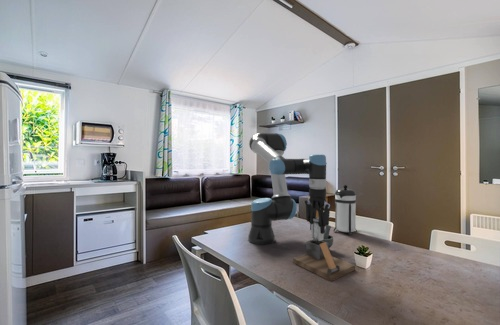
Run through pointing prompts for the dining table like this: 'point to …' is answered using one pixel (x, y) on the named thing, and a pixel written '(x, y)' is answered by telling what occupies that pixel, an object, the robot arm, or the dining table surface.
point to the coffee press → (345, 210)
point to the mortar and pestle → (328, 236)
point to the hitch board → (322, 262)
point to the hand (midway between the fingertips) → (317, 238)
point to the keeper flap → (328, 257)
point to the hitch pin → (316, 230)
